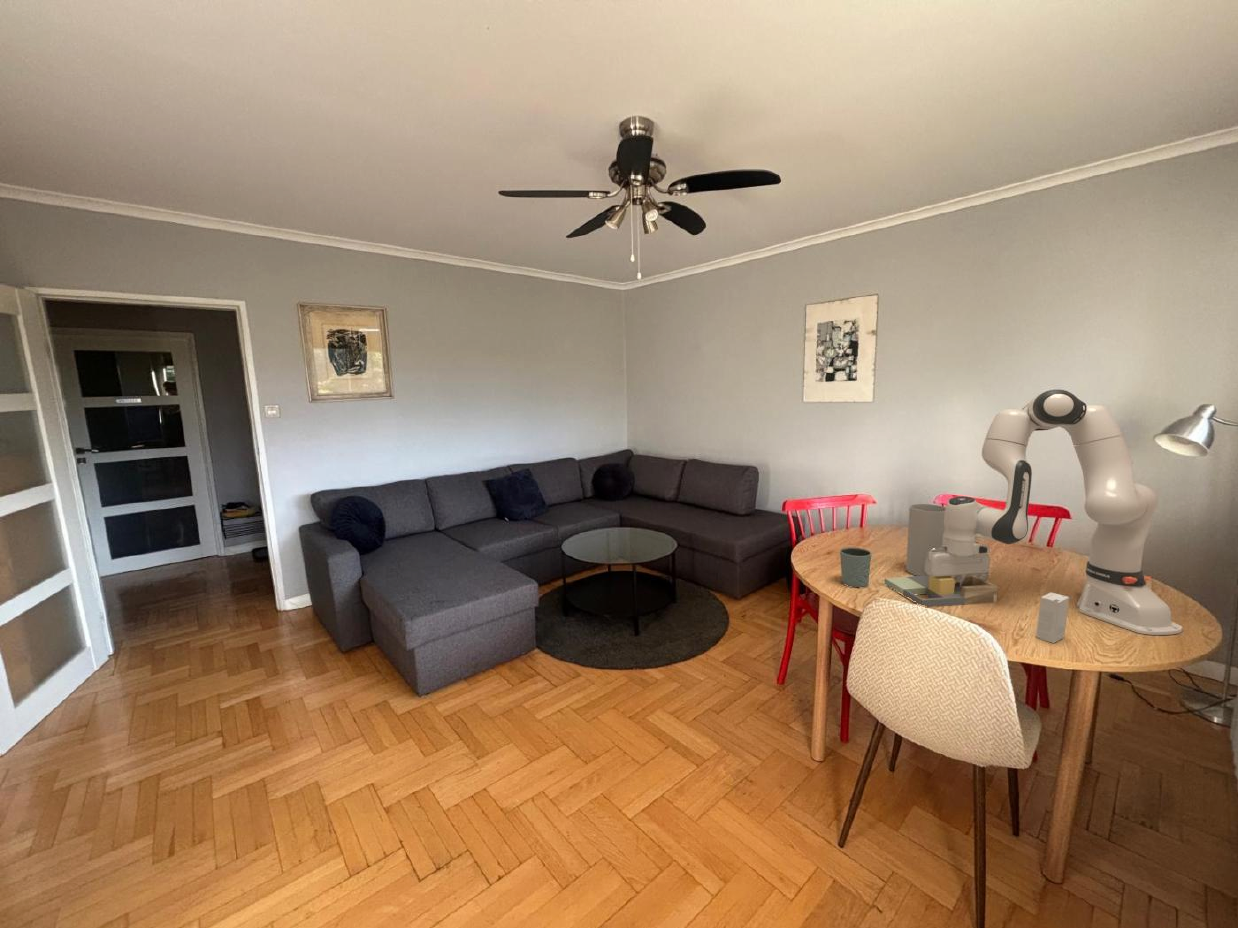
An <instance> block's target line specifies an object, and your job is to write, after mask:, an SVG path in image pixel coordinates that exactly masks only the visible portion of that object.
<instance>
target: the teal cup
mask: <svg viewBox="0 0 1238 928" xmlns="http://www.w3.org/2000/svg"><path fill="white" fill-rule="evenodd" d="M839 555H840V566H841V567H840V570H841V583H842V582H843V583H844V584H846V585H848V586H847V587H849V586H852V587H851V588H853V587H865V588H867V587H869V581H870V571H871V561H872V552H871V551H870V550H868V549H866V548H862V547H853V546H852V547H851V546H849V547H842V548H841V549H840V550H839ZM843 583H842V584H843ZM844 584H843V585H844ZM846 585H845V586H846ZM866 586H867V587H866Z"/></svg>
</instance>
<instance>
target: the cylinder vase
mask: <svg viewBox="0 0 1238 928" xmlns="http://www.w3.org/2000/svg"><path fill="white" fill-rule="evenodd" d="M908 508H909V511H908V527H907V528H908V529H907V545H906V546H907V547H906V562H905V563H906V564H905V565H906V566H905V569H906V571H907V572H908V573H909V574H911V575H913V576H926V575H928V574H927V573H926V572H925V563H926V559H927V554H928V552H929V551H930V550H932V548H942V539H943V533H944V530H945V527H944V513H945V508H946V506H943V505H939V504H929V503H917V504H915V503H914V504H911V505H909V507H908Z"/></svg>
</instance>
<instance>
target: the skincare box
mask: <svg viewBox="0 0 1238 928" xmlns="http://www.w3.org/2000/svg"><path fill="white" fill-rule="evenodd" d="M1069 602H1070V597H1069V596H1068V595H1067V596H1066V595H1063V594H1059V593H1054V592H1048V593H1047V594H1045V595H1042V596H1040V602H1039V611H1038V616H1037V626H1036V635H1035V637H1036V638H1038V639H1040V640H1043V641H1046V642H1049V643H1051V644H1052V643H1053V644H1055V643H1057V642H1058V641H1060V640H1062V639H1064V638H1065V635H1066V626H1067V625H1066V624H1067V618H1068V610H1069Z"/></svg>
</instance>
